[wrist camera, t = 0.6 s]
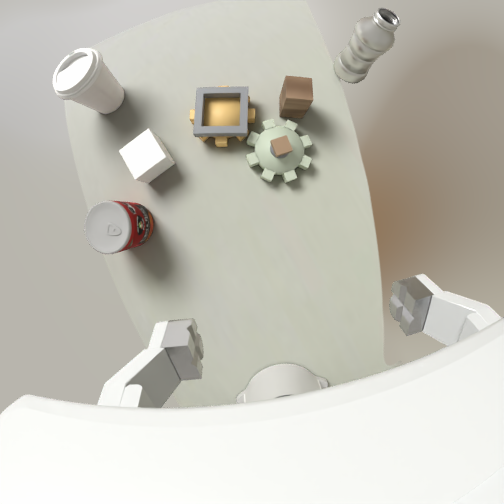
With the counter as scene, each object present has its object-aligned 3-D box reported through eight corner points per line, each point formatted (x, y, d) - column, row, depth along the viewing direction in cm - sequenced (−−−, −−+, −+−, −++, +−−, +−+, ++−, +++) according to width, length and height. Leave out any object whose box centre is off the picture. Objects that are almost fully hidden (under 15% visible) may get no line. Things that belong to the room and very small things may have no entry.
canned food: (155, 245, 46) (131, 254, 35) (116, 246, 46) (85, 254, 35) (154, 201, 45) (129, 198, 34) (115, 204, 45) (83, 202, 34)
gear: (318, 171, 45) (326, 166, 40) (259, 192, 45) (261, 189, 40) (295, 115, 44) (300, 105, 39) (236, 134, 44) (235, 125, 39)
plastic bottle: (341, 89, 43) (386, 35, 23) (324, 62, 42) (358, 0, 22) (367, 83, 43) (417, 34, 23) (351, 57, 42) (391, 1, 22)
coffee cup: (136, 76, 42) (104, 38, 27) (125, 119, 43) (86, 90, 28) (96, 81, 41) (59, 51, 26) (85, 123, 42) (42, 100, 28)
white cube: (132, 157, 44) (118, 150, 38) (159, 137, 44) (148, 128, 38) (148, 183, 45) (135, 179, 39) (175, 163, 44) (166, 156, 38)
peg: (302, 118, 44) (313, 100, 35) (279, 116, 44) (286, 97, 35) (301, 98, 43) (311, 78, 35) (279, 97, 43) (285, 75, 35)
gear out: (254, 147, 44) (254, 140, 40) (190, 147, 44) (185, 141, 40) (255, 91, 43) (255, 80, 38) (194, 92, 43) (190, 82, 38)
